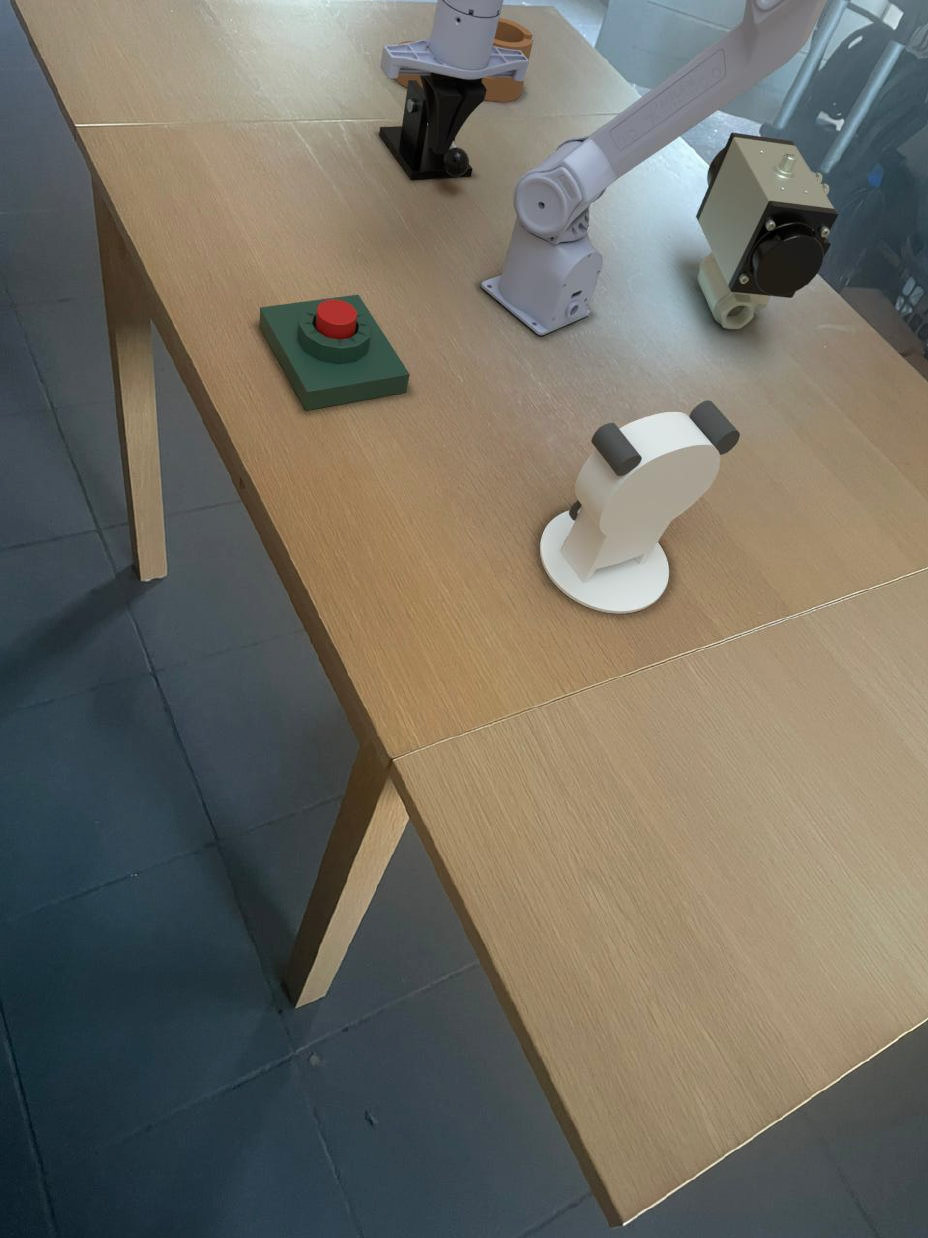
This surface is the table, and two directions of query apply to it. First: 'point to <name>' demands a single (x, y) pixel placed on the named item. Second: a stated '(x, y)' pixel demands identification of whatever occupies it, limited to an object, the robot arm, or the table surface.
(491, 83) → the bracket
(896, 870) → the table surface
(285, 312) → the button box
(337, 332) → the button
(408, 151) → the bracket
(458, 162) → the lever
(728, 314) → the ball valve
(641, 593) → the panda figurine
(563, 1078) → the table surface
